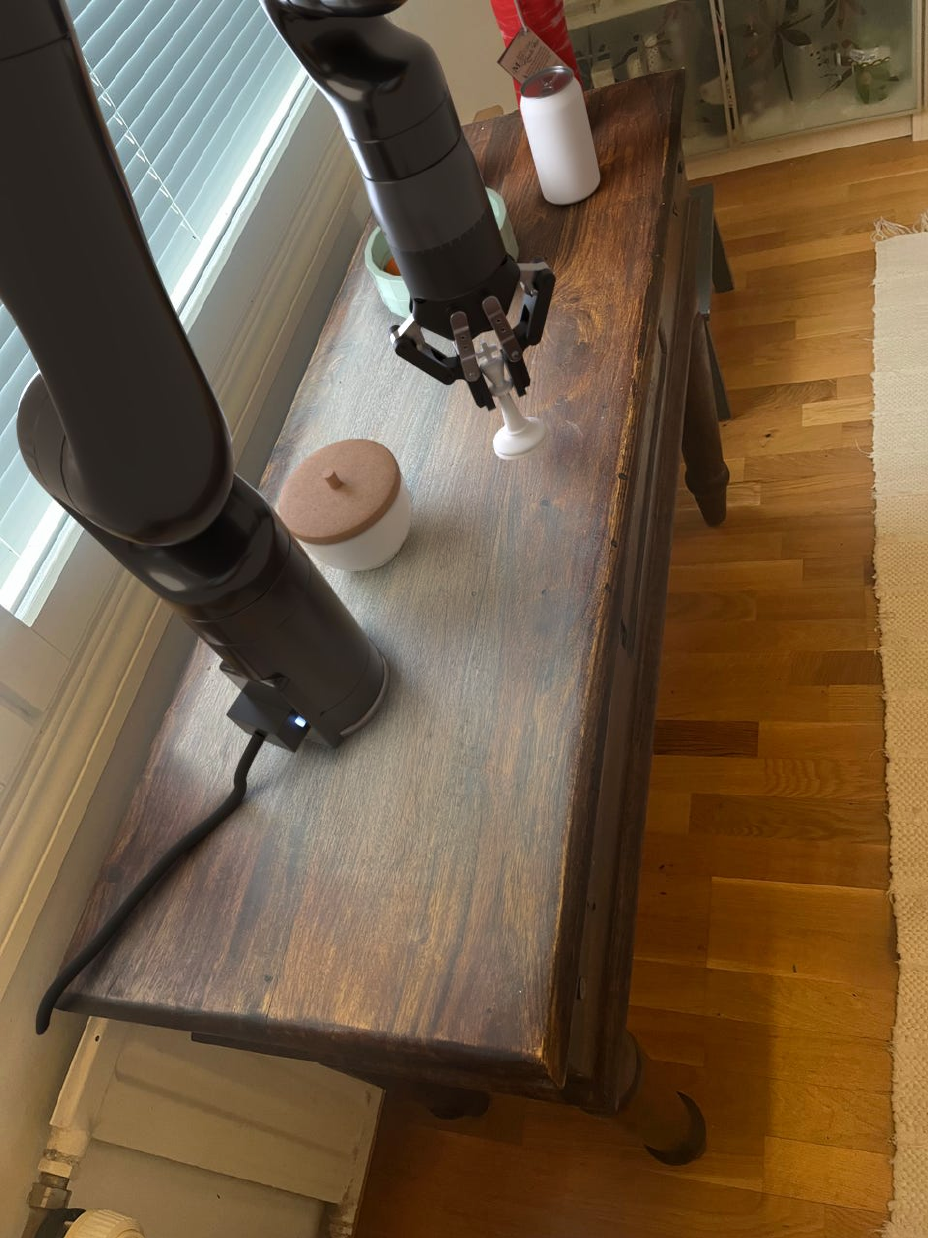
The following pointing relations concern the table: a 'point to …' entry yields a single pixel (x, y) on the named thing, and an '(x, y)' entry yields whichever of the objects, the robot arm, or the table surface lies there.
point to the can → (559, 135)
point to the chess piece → (510, 412)
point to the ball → (392, 268)
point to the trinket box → (348, 505)
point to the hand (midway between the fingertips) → (504, 396)
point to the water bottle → (533, 39)
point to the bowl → (394, 286)
